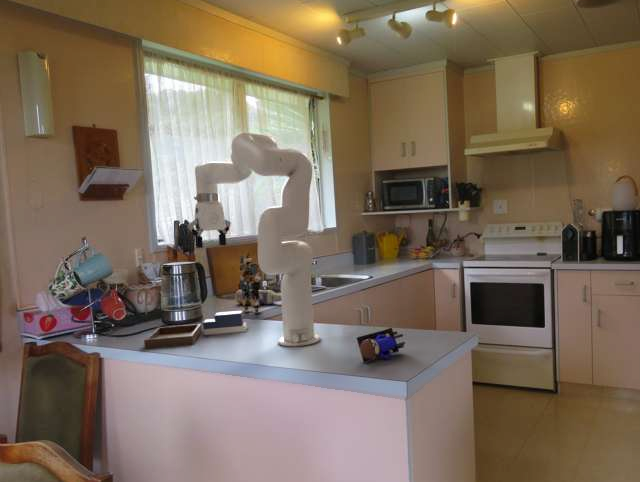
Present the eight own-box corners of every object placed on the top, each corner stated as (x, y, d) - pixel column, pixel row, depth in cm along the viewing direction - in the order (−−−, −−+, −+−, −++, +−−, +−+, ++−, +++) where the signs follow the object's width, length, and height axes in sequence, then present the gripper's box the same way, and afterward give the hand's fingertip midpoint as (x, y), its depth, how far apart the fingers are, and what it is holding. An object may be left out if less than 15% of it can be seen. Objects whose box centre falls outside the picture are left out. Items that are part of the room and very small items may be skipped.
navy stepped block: (245, 331, 188) (244, 313, 188) (203, 335, 186) (202, 316, 185) (246, 328, 194) (245, 310, 194) (206, 331, 192) (204, 313, 191)
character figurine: (410, 355, 147) (369, 368, 137) (391, 349, 152) (350, 361, 142) (410, 327, 146) (368, 339, 136) (391, 322, 151) (350, 333, 141)
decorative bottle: (234, 305, 246) (233, 290, 246) (244, 302, 253) (243, 288, 253) (282, 306, 236) (281, 291, 236) (291, 303, 243) (290, 288, 243)
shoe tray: (192, 344, 173) (192, 335, 173) (144, 348, 170) (144, 340, 170) (201, 331, 192) (201, 323, 192) (158, 335, 190) (158, 327, 190)
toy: (271, 313, 221) (267, 252, 219) (253, 317, 215) (249, 254, 213) (251, 310, 231) (246, 252, 229) (233, 313, 224) (229, 254, 223)
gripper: (192, 199, 185) (196, 248, 186) (234, 198, 198) (237, 244, 199) (180, 200, 189) (184, 248, 191) (222, 199, 203) (225, 244, 204)
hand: (211, 246), depth 195 cm, fingers open, 9 cm apart
